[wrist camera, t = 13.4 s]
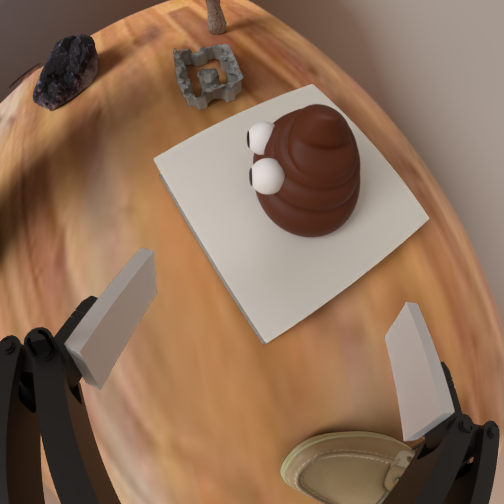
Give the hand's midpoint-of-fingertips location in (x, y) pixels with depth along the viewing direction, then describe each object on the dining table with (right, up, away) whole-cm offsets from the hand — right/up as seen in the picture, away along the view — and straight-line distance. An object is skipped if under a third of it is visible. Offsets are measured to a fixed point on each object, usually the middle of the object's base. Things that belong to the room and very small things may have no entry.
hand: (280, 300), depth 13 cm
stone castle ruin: (-7, +24, +17) cm, 30 cm away
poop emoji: (+3, +8, +9) cm, 12 cm away
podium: (+2, +7, +12) cm, 14 cm away
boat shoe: (+13, -21, +6) cm, 26 cm away
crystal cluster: (-32, +31, +18) cm, 48 cm away
